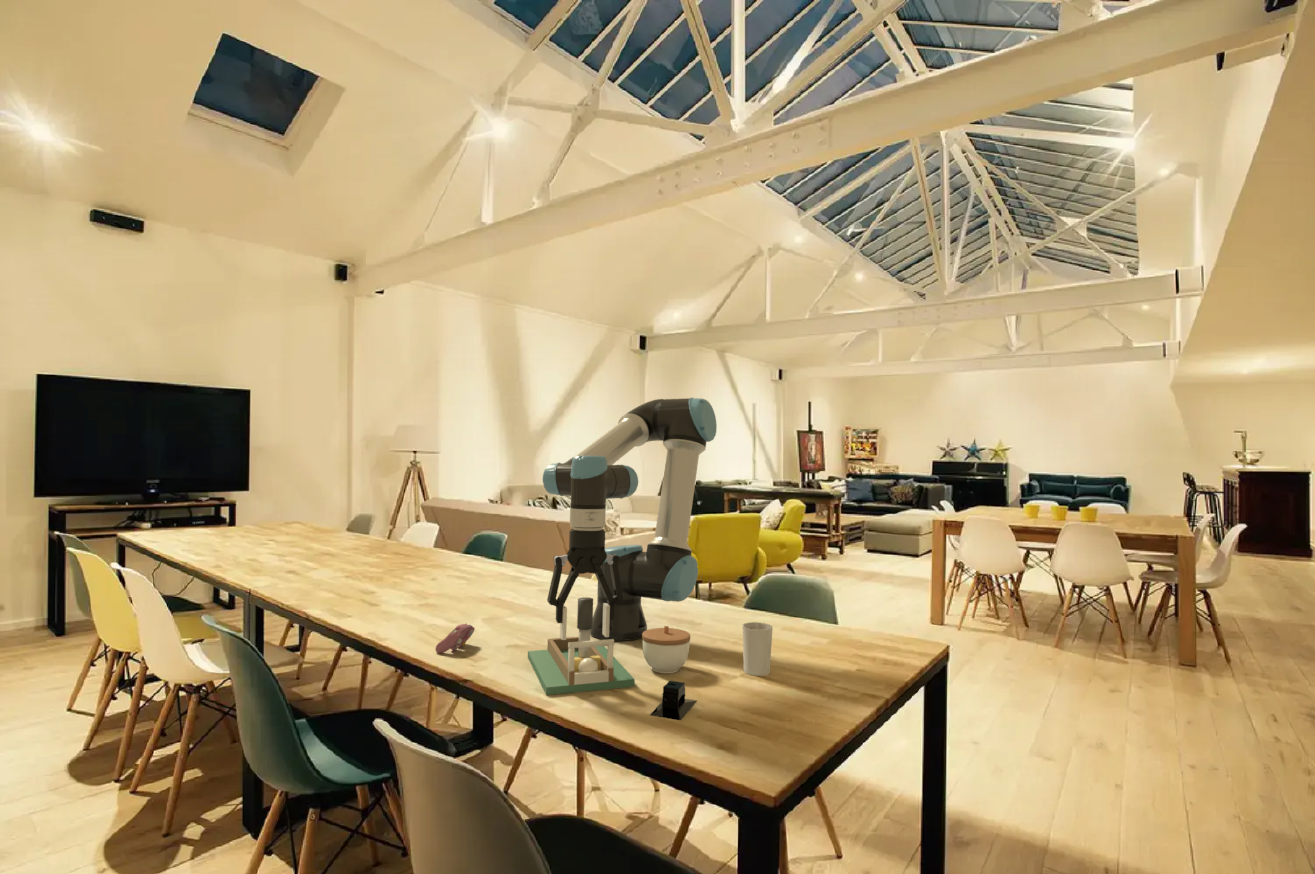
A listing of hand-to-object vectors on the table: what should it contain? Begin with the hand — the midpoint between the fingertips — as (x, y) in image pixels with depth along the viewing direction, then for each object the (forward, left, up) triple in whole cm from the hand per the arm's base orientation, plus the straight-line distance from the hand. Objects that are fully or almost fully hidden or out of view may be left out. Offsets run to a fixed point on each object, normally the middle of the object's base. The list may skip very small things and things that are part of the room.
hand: (584, 636), depth 137 cm
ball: (0, +4, -5) cm, 7 cm away
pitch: (0, -5, -9) cm, 10 cm away
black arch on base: (-13, +20, -10) cm, 25 cm away
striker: (0, +1, -7) cm, 7 cm away
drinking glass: (-38, +5, -9) cm, 39 cm away
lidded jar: (-19, -2, -9) cm, 21 cm away
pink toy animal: (+24, -30, -9) cm, 40 cm away
